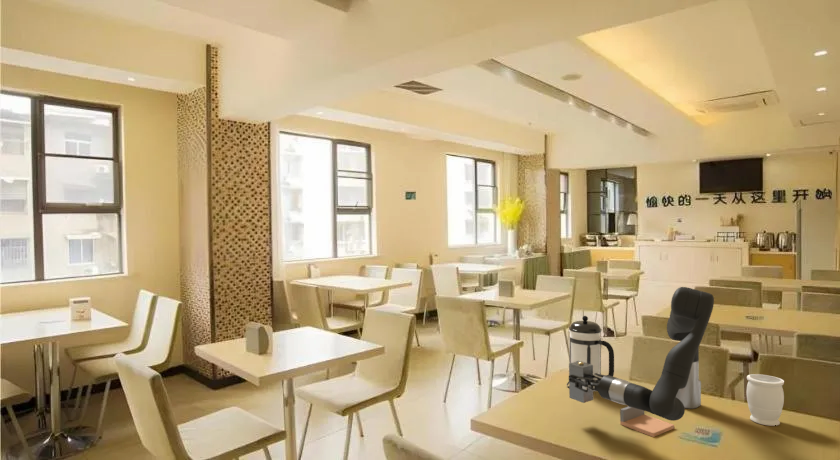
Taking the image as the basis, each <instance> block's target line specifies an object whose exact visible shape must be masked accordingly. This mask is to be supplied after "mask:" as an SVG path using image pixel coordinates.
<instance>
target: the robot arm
mask: <svg viewBox="0 0 840 460" xmlns="http://www.w3.org/2000/svg"><path fill="white" fill-rule="evenodd" d="M714 304H715V297H714V296H713V294H712V293H711V292H706V291H702V290H698V289H695V288H691V287H687V286H679V287H678V288H677V289H676V290H675V291H674V292H673V294H672V297H671V302H670V312H669V317H668V320H667V322H666V323H667V324H666V332H667V335H668V337H669V338H670V340H673V341H677V342H678V341H679V342H678V343H677V344H675V346H673V347H672V348H671V349H670V350H669V352H668V353H667V355H666V357H665V359H664V363H663V367H662V370H661V371H662V372H661V375H660V377H659V379H658V381H656V383H655V385H654V387H653V389H649V388H647V387H646V386H643V385H639V384H636V383H633V382H630V381H629V380H625V379H623V378H619V377H616V376H614V375H613V376H609V375H608V374H602V373H601V374H597V373H595V374H594V375H593V376H592V378H593V379H592V378H586V377H585V378H584V379H583V378H579V377H575V376H572V375H569V374H568V382H572V383H575V387H576V388H578V389H580V390H582V391H584V392H588V389H590V390H592V391H593V392H597V393H598V394H599V396H600V397H601V398H603V399H606V400H608V401H611V402H614V403H617V404H620V405H624V406H626V407H628V406H630V407H633V408H636V409H640V410H644V412H648V413H650V414H652V415H655V416H657V417H660V418H663V419H665V420H667V421H673V422H675V421H678V420H680V419H682V418H683V417H684V414H685V411H686V409H697V408H699V407H700V406H702V405H701V404H702V381H701V380H700V376H699V374H700V373H699V372H700V370H699V369H700V365H699V361H700V359H699V358H700V357H699V353H700V352H699V351H700V350H699V348H700V345H701V342H702V340H703V339H704V338H703V337H704V335H705V332H706V330H707V326H708V324H709V322H710V319H711V316H712V313H713V310H714ZM587 380H588V384H587ZM582 381H583V382H582Z"/></svg>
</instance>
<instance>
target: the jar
mask: <svg viewBox="0 0 840 460" xmlns="http://www.w3.org/2000/svg"><path fill="white" fill-rule="evenodd" d="M746 379H747V381H748V382H747V385H746V401H747V406H748V411H749V412H750V414H751V415H750V416H749V419H750V420H751V421H752V422H754V423H756V424H759V425H762V426H763V425H765V426H771V427H775V425H776V426H779V425H780V424H781V422H780V420H779V418H780V417H781V415H782V413H783V407H784V401H785V393H784V389H783V385H784V384H785V380H784V379H782V378H780V377H776V376H772V375H767V374H762V373H761V374H760V373H755V374H754V373H753V374H752V373H751V374H748V375H746Z"/></svg>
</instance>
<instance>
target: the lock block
mask: <svg viewBox="0 0 840 460" xmlns="http://www.w3.org/2000/svg"><path fill="white" fill-rule="evenodd" d="M569 375H572V376H575V377H579V378H583V379H584V378H585V377H586V378H592V376H593V365H591V364H588V363H584V362H581V361H577V362H573V363H570V362H569V363H568V376H569ZM592 379H593V378H592ZM568 382H569V381H568ZM582 382H583V381H582ZM587 384H588V380H587ZM568 385H569V395H568V396H569V399H571V400H575V401H577V402H580V403H583V404H584V403H587V402H590V401H593V400H594V391H592V390H590V389H588V392H584V391H582V390H580V389H578V388H576V387H575V383H572V382H569V384H568Z"/></svg>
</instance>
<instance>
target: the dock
mask: <svg viewBox="0 0 840 460" xmlns="http://www.w3.org/2000/svg"><path fill="white" fill-rule="evenodd" d="M619 413H620V414H619V415H620V419H619V424H620V426H624V427H626V428H628V429H631V430H633V431H636V432H638V433H639V432H640V433H641V434H645V435H647V436H649V437H652V438H654V437H657V436H659V435H663V434H664V433H667V432H670V431H671V430H674V429H675V424H674V423H671V422H667V421H665V420H661V419H659V418H656V417H653V416H650V415H647V414H645V411H644V410H640V409H636V408H633V407H630V406H625V407H623V408H620V412H619Z"/></svg>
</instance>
